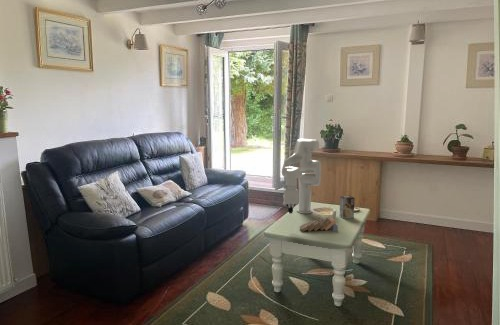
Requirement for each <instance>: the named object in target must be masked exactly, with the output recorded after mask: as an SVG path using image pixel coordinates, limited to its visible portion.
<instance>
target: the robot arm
mask: <svg viewBox="0 0 500 325" xmlns="http://www.w3.org/2000/svg"><path fill="white" fill-rule="evenodd" d="M319 148H320V141H319V140H318V139H314V138H313V139H311V138H299V139H297V140H296V142H295V145H294V150H293V153H292V154H291V155H289V157H287V158H286V159H285V160H284V162H283V165H282V168H281V175H282V176H283V177H284V178H285V184H284V185H283V186H282V188H283V189H284V190H283V196H282V205H283V206H286V207H287V209H288V210H287V211H288V213H289V214H291V215H292V214H293V212H294V208H295V206H297V205H298V208H297V209H296V212H297V213H300V214H306V215H307V214H312V213H313V209H311V204H312V189H311V187H310V186H312V187H313V186H315V187H318V186H320V185H321V181H322V180H321V178H322V164H321V161H320V160H316V159H312V156H313V155H312V153H313V152H317V151H318V150H319ZM297 163H300V167H298V166H291V165H293V164H297ZM297 179H298V182H297ZM297 183H298V186H297ZM297 187H298V188H297Z"/></svg>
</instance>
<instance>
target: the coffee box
mask: <svg viewBox="0 0 500 325" xmlns="http://www.w3.org/2000/svg"><path fill="white" fill-rule="evenodd" d="M355 200H356V199H355V197H353V196H351V195H340V196H339V217H340V218H341V219H353V218H354V216H355Z"/></svg>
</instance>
